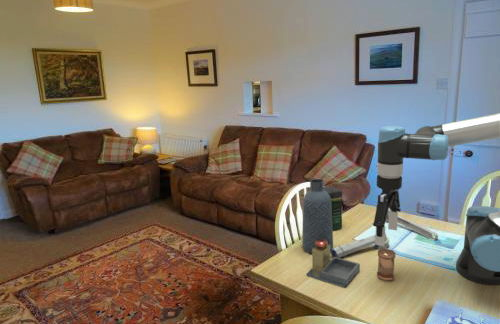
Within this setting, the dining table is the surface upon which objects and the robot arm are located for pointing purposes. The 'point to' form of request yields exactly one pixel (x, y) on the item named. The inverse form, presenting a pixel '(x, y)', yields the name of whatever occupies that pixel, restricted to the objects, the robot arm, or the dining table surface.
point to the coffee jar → (335, 206)
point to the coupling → (386, 264)
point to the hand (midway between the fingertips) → (386, 236)
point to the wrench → (414, 226)
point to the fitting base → (331, 266)
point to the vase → (316, 216)
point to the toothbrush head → (357, 246)
